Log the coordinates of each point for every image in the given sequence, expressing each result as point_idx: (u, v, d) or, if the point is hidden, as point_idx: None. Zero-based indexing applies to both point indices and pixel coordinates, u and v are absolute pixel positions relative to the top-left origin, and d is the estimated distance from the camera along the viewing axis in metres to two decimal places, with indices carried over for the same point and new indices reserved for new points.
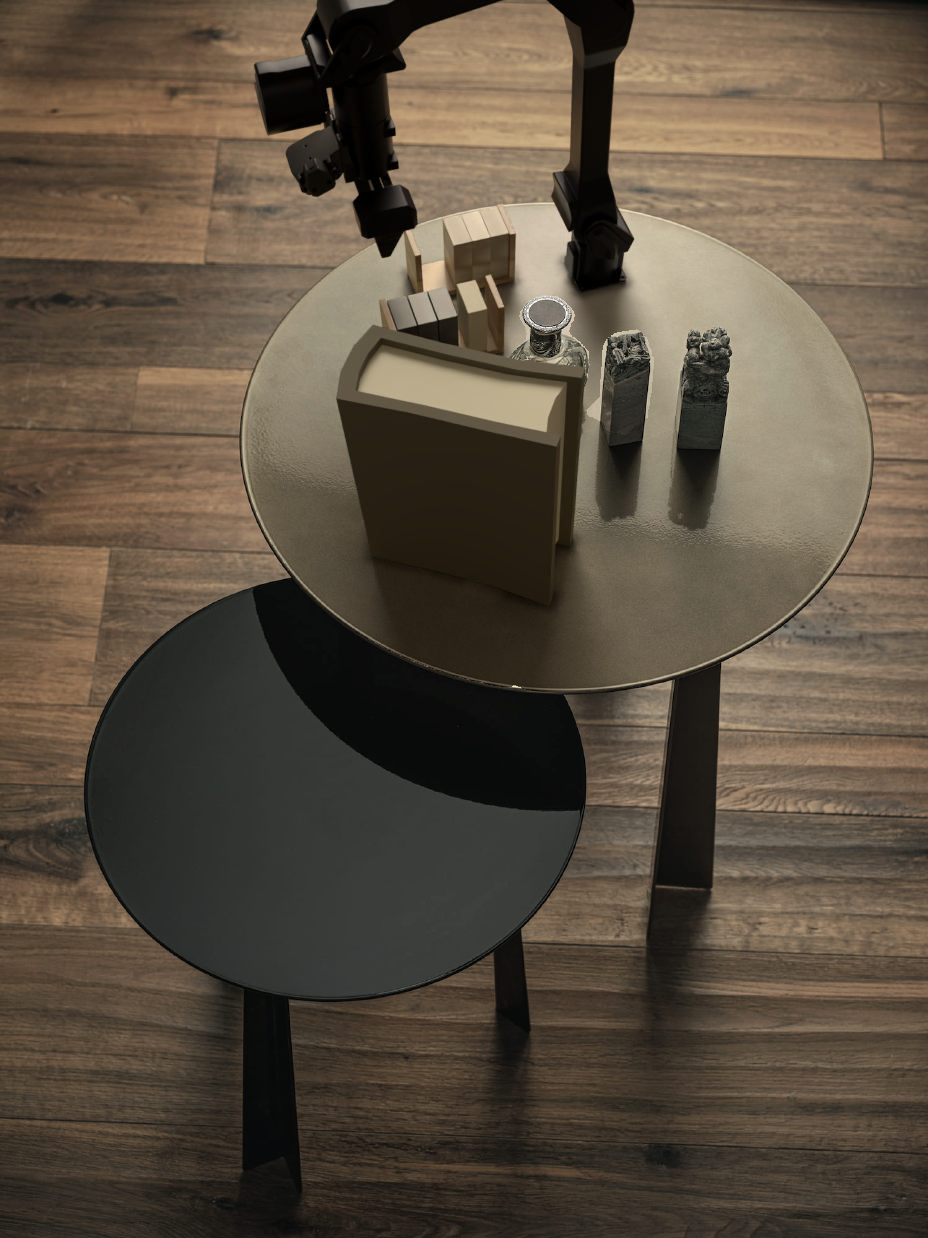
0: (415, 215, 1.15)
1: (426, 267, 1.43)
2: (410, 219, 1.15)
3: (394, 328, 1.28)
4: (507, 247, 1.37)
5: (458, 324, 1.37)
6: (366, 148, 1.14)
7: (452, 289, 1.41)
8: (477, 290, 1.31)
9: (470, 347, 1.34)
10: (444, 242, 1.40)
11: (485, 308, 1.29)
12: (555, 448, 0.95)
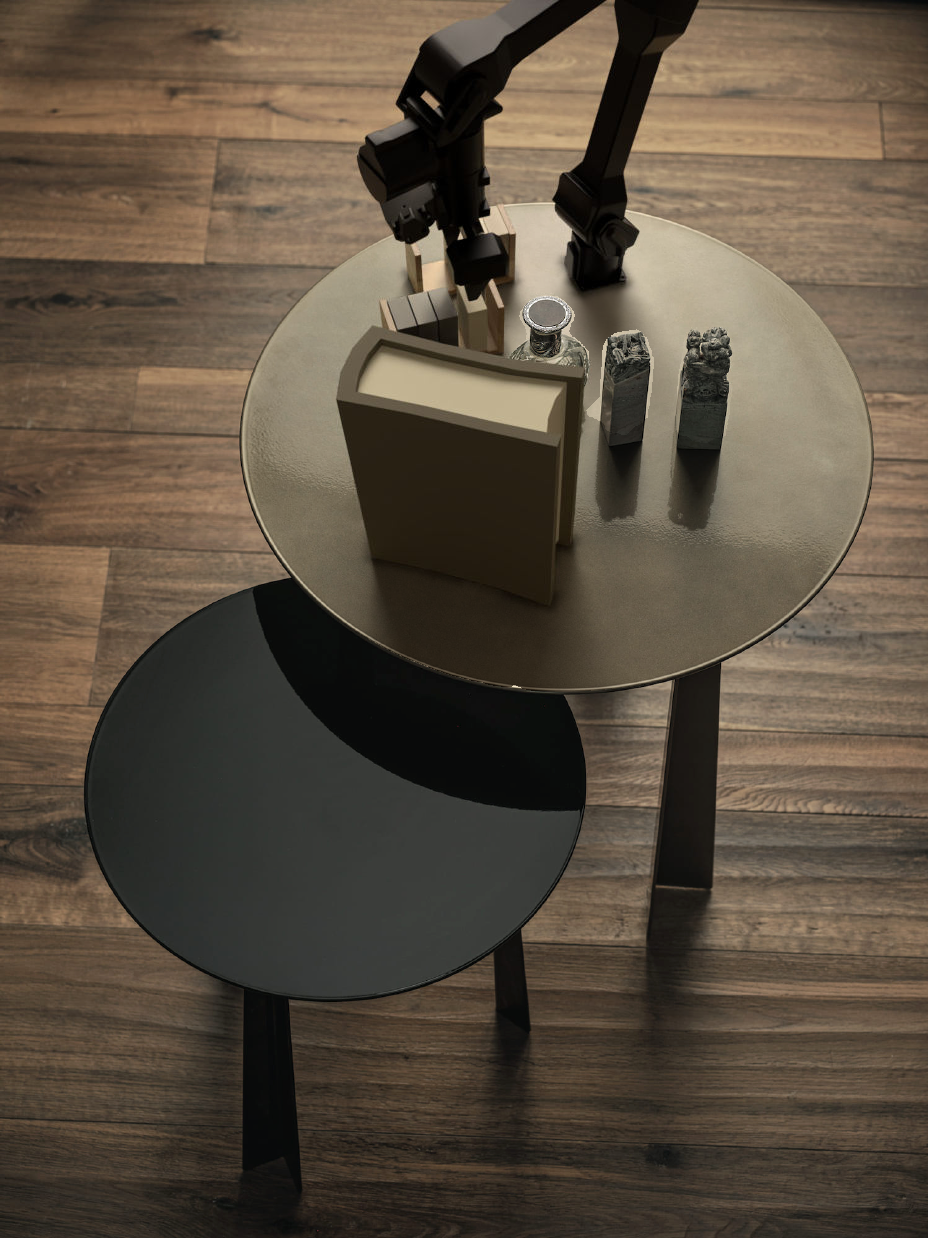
0: (508, 263, 1.16)
1: (426, 267, 1.43)
2: (502, 267, 1.16)
3: (394, 328, 1.28)
4: (507, 247, 1.37)
5: (458, 324, 1.37)
6: (460, 197, 1.15)
7: (452, 289, 1.41)
8: None
9: (470, 347, 1.34)
10: (444, 242, 1.40)
11: (485, 308, 1.29)
12: (555, 448, 0.95)
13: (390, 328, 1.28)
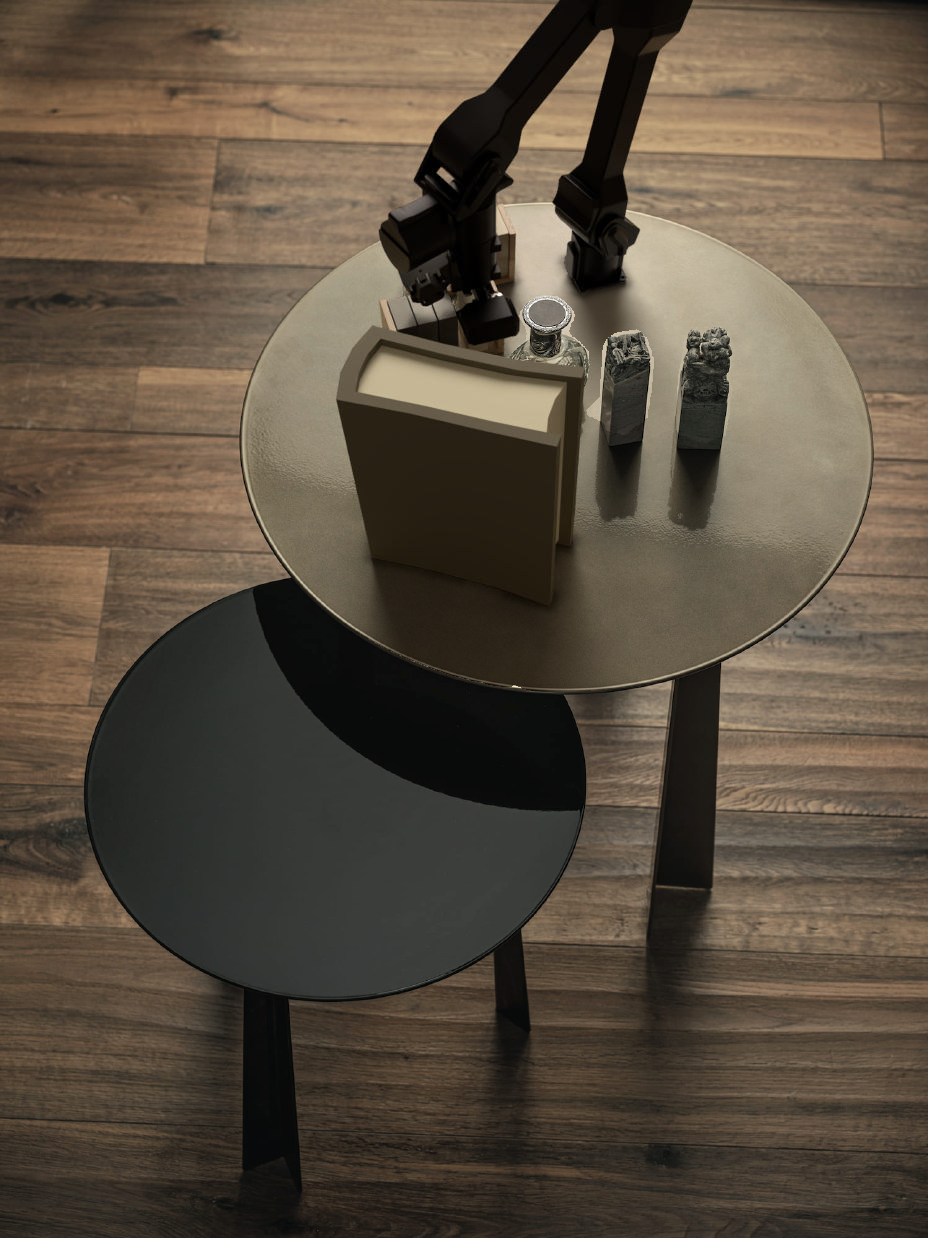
0: (518, 324, 1.24)
1: None
2: (513, 328, 1.23)
3: (394, 328, 1.28)
4: (507, 247, 1.37)
5: (458, 324, 1.37)
6: (473, 263, 1.22)
7: None
8: None
9: (470, 347, 1.34)
10: None
11: None
12: (555, 448, 0.95)
13: (390, 328, 1.28)
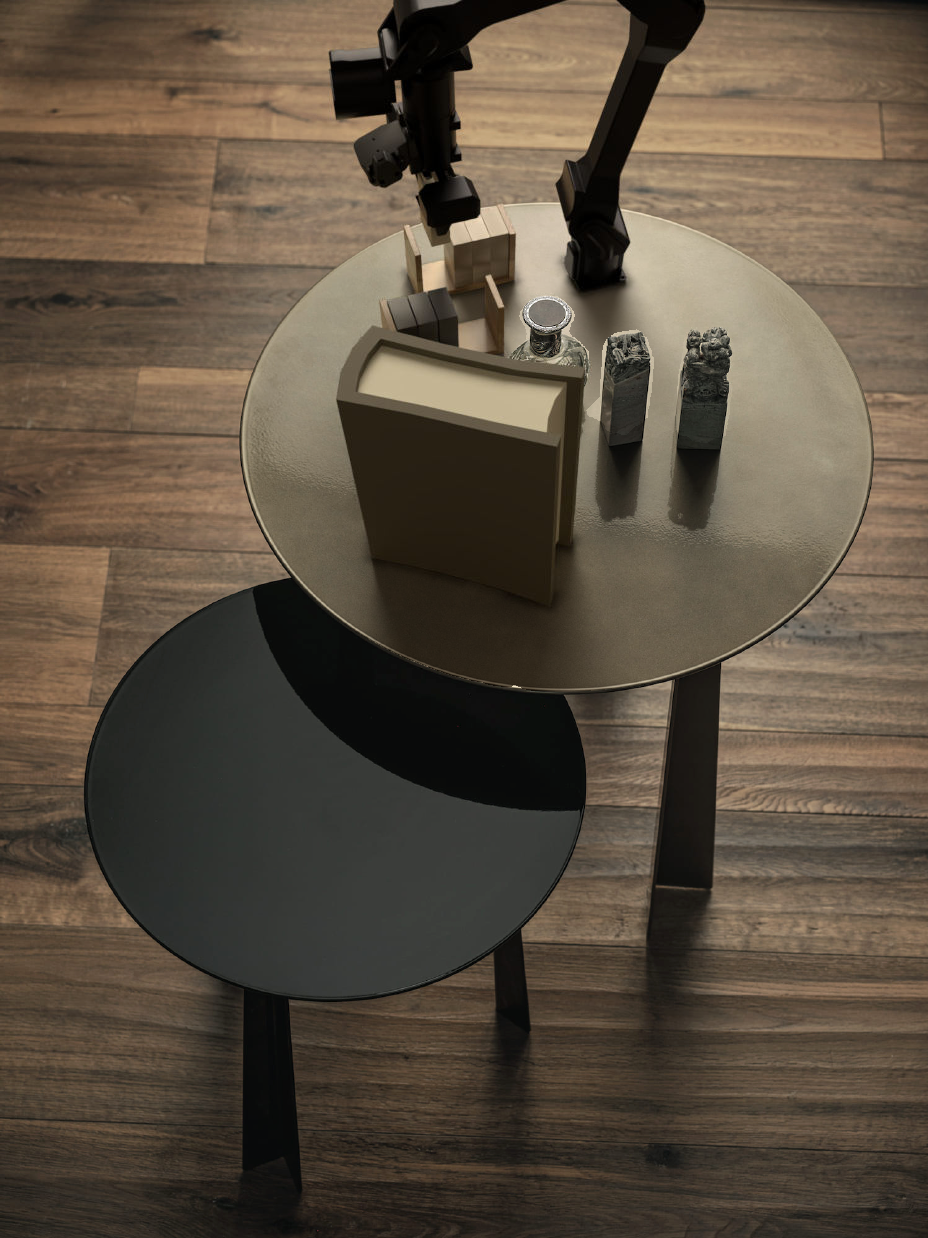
0: (479, 205, 1.20)
1: (426, 267, 1.43)
2: (474, 209, 1.20)
3: (394, 328, 1.28)
4: (507, 247, 1.37)
5: (421, 218, 1.34)
6: (432, 141, 1.19)
7: (452, 289, 1.41)
8: None
9: (432, 239, 1.31)
10: None
11: None
12: (555, 448, 0.95)
13: (390, 328, 1.28)
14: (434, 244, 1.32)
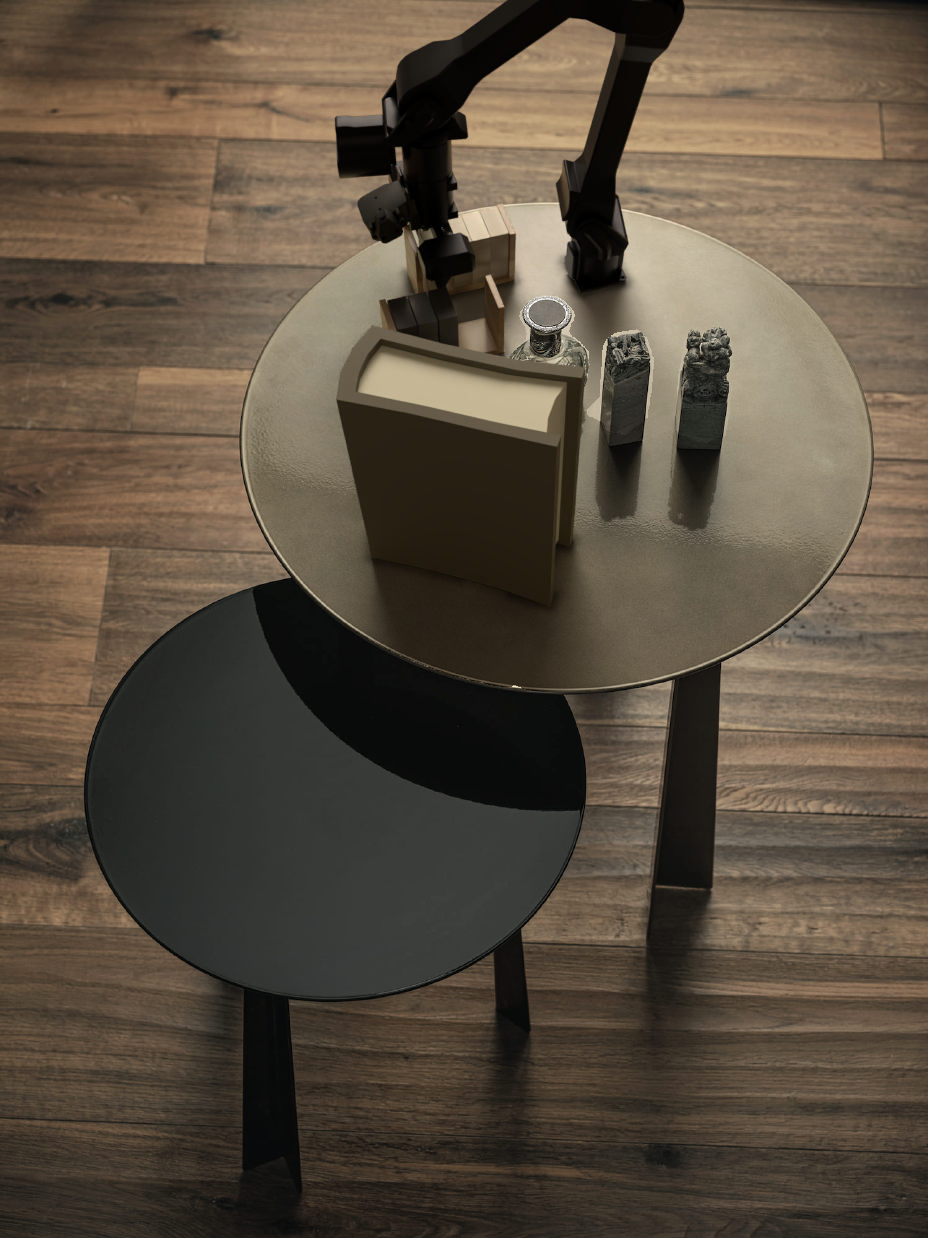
0: (474, 260, 1.29)
1: None
2: (469, 264, 1.29)
3: (394, 328, 1.28)
4: (507, 247, 1.37)
5: None
6: (430, 201, 1.27)
7: (452, 289, 1.41)
8: None
9: (431, 286, 1.39)
10: None
11: None
12: (555, 448, 0.95)
13: (390, 328, 1.28)
14: None
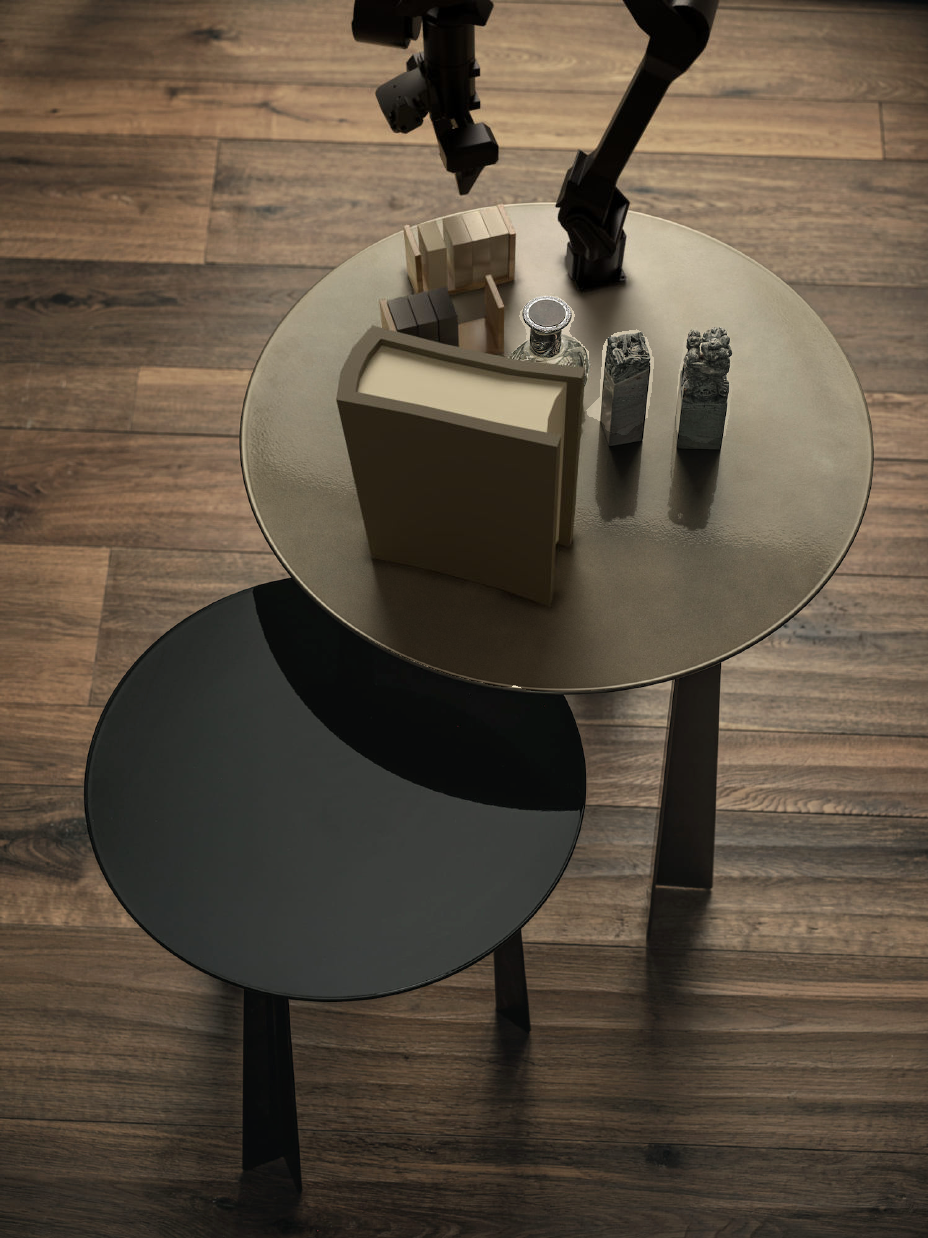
0: (497, 151, 1.23)
1: None
2: (492, 154, 1.23)
3: (394, 328, 1.28)
4: (507, 247, 1.37)
5: None
6: (452, 88, 1.22)
7: (452, 289, 1.41)
8: (437, 230, 1.36)
9: (431, 286, 1.39)
10: (444, 242, 1.40)
11: (444, 247, 1.34)
12: (555, 448, 0.95)
13: (390, 328, 1.28)
14: None
